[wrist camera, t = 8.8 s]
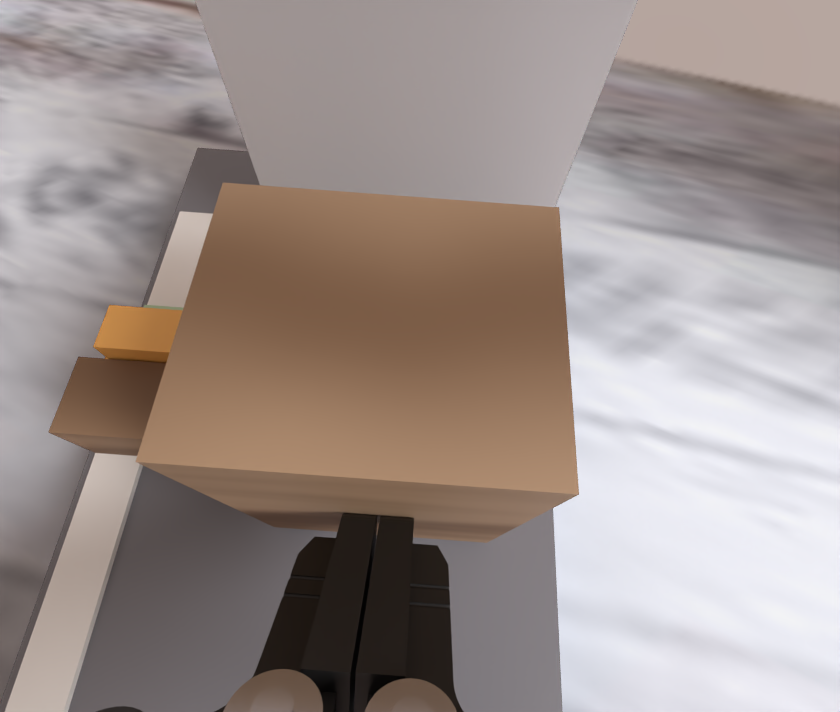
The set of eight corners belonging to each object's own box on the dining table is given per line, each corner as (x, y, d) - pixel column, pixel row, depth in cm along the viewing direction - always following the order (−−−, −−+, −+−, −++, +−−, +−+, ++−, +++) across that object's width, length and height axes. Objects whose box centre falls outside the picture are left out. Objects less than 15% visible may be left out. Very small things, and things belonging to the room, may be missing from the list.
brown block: (487, 542, 14) (579, 494, 7) (96, 514, 14) (-235, 434, 7) (488, 379, 16) (558, 207, 9) (149, 354, 16) (-59, 161, 9)
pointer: (241, 403, 15) (198, 354, 12) (107, 393, 15) (27, 342, 12) (249, 368, 16) (210, 312, 13) (119, 359, 16) (46, 300, 13)
